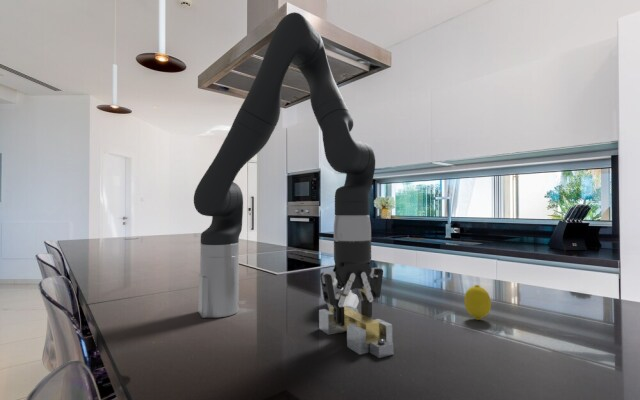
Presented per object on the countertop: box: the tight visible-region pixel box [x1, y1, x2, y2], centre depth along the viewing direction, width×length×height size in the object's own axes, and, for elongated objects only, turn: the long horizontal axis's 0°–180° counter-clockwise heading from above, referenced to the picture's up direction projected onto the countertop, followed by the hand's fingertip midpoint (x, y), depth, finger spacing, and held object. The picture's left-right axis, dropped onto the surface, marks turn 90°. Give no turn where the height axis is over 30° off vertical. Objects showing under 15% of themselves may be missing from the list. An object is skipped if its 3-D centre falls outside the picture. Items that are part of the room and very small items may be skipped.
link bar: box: [330, 306, 379, 341], centre depth 67 cm, size 3×13×3 cm, turn 28°
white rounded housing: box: [326, 278, 360, 311], centre depth 88 cm, size 17×5×10 cm, turn 168°
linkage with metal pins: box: [318, 305, 394, 359], centre depth 67 cm, size 7×21×4 cm, turn 28°
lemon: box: [464, 284, 492, 321], centre depth 78 cm, size 6×6×8 cm
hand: (353, 322), depth 67 cm, fingers open, 5 cm apart
